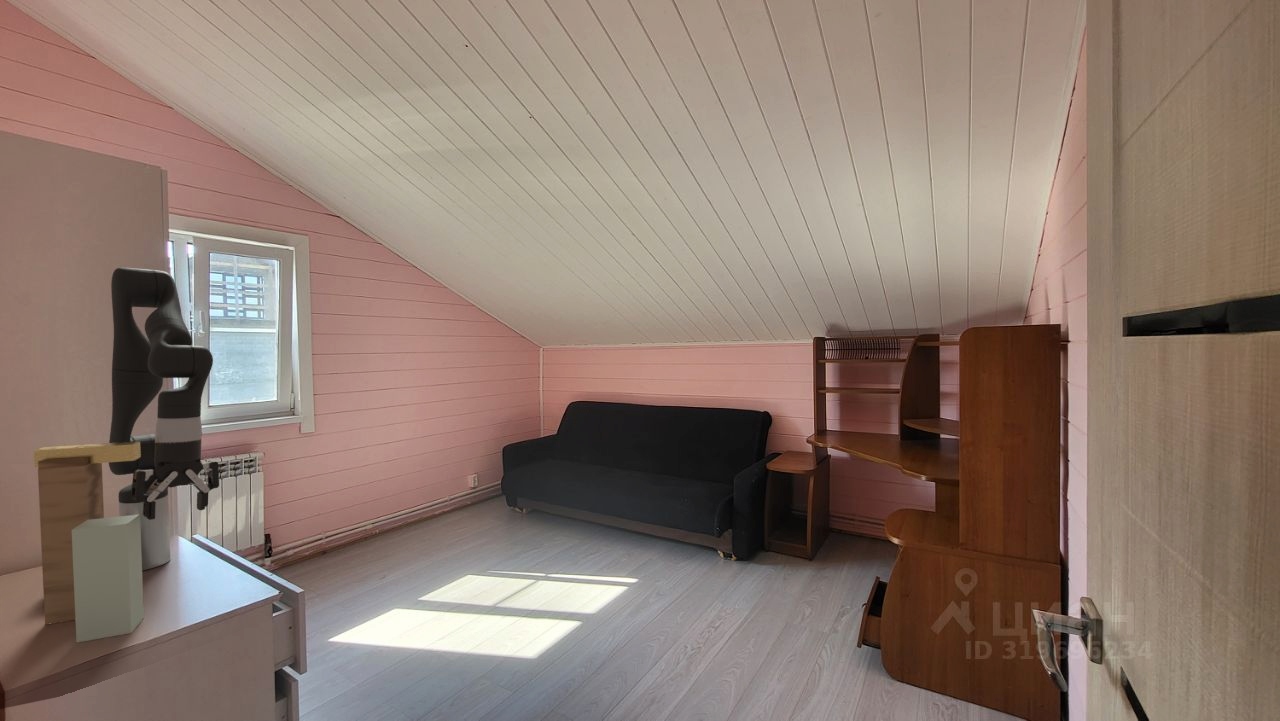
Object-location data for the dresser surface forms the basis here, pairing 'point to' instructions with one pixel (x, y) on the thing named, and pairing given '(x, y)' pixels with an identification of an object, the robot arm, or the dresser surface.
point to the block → (107, 577)
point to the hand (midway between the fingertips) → (176, 514)
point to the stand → (64, 526)
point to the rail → (91, 452)
